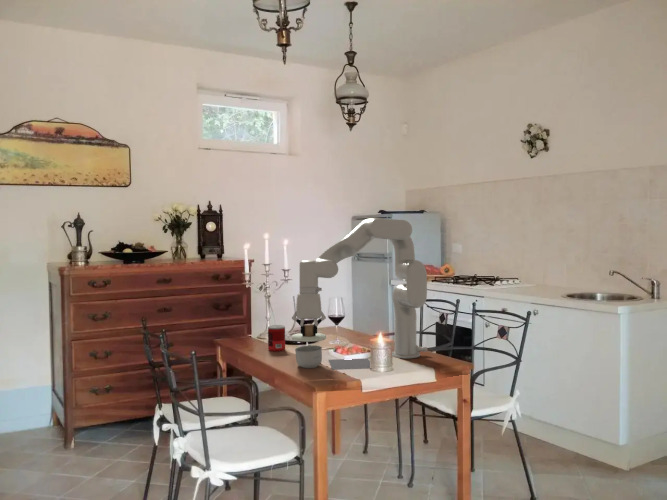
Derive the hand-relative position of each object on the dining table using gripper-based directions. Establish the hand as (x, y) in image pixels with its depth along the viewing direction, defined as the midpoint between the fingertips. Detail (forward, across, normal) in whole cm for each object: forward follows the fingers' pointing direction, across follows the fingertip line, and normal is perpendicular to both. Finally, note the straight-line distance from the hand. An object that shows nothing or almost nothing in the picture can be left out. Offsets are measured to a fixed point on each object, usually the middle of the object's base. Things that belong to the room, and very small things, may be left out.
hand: (308, 334), depth 241 cm
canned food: (+13, +13, -33) cm, 38 cm away
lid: (+1, 0, 0) cm, 1 cm away
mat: (+13, -17, 0) cm, 21 cm away
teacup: (+13, 0, 0) cm, 13 cm away
